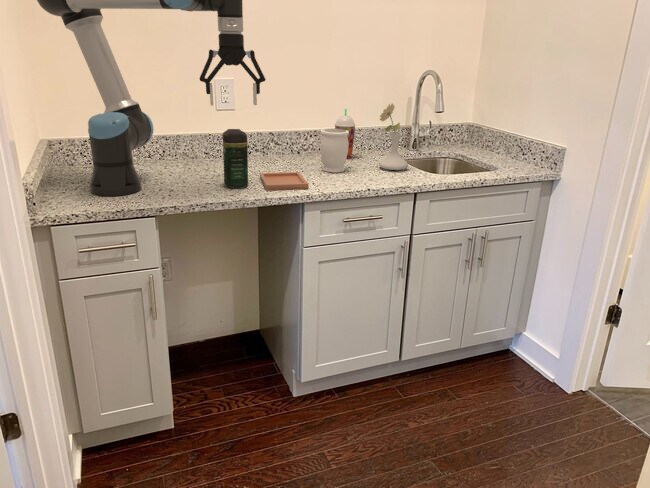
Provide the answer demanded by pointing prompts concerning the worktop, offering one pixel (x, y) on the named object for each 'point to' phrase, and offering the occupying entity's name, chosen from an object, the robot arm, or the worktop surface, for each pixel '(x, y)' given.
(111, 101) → the robot arm
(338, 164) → the jar
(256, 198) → the worktop surface
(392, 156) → the flower in vase
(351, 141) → the smoothie
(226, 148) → the coffee jar
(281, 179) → the tray
